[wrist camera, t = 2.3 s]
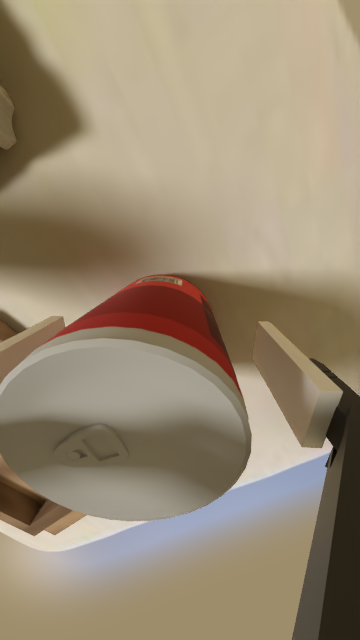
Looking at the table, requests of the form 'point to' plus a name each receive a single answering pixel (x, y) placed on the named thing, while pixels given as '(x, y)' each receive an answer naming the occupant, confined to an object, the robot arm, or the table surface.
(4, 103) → the egg carton
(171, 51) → the table surface
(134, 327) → the canned food
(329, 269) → the table surface
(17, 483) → the walnut holder
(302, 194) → the table surface
